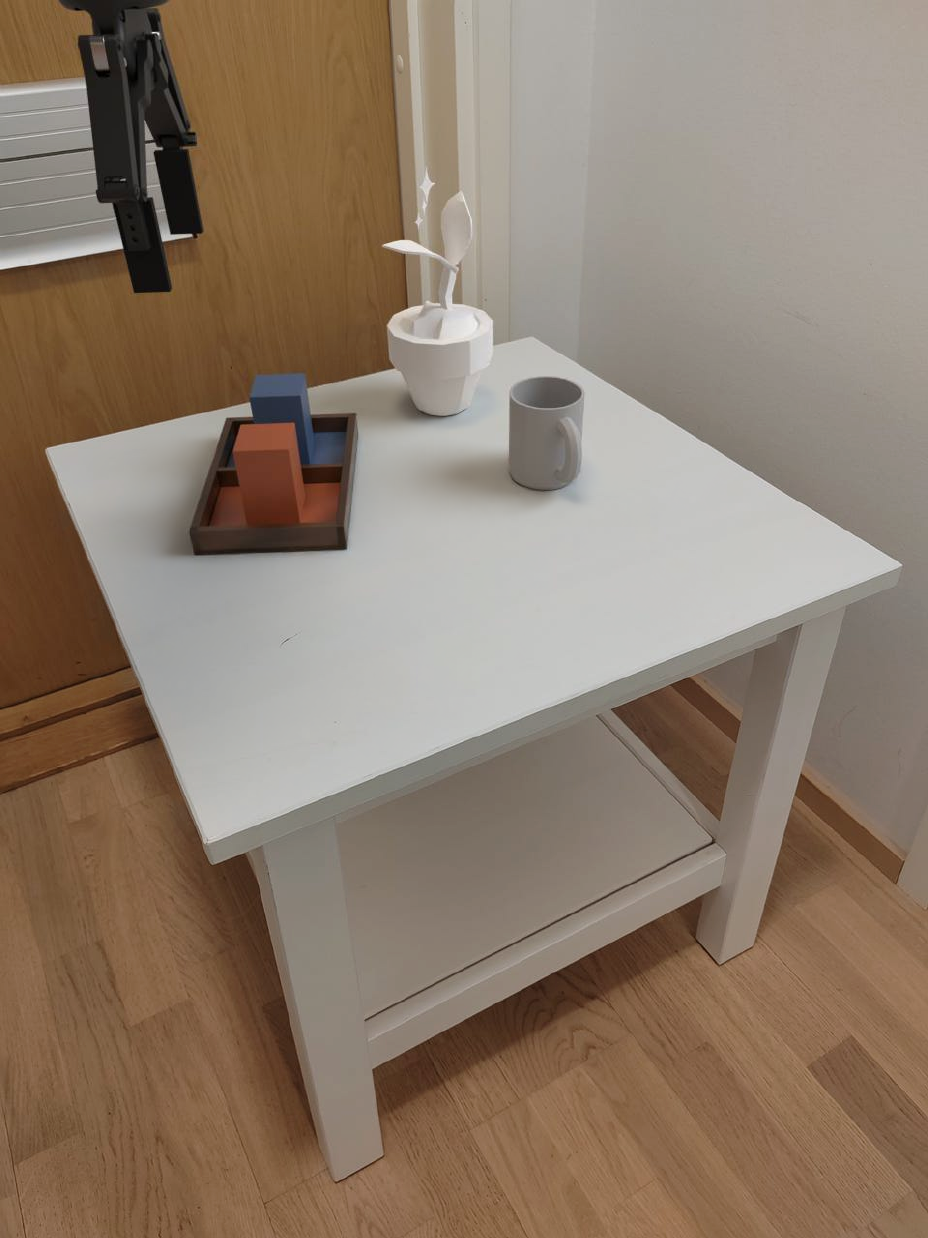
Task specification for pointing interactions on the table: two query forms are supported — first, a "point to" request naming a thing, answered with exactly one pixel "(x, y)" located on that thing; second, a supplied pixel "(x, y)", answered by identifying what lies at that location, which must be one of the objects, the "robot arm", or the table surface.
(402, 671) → the table surface
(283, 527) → the tray
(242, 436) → the terracotta bar
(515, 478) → the cup
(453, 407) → the potted plant
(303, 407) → the blue bar
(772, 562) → the table surface
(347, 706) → the table surface
